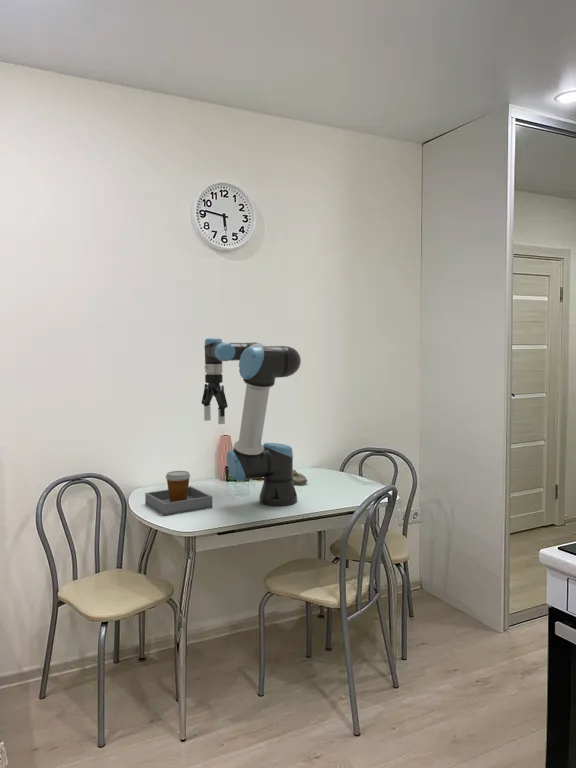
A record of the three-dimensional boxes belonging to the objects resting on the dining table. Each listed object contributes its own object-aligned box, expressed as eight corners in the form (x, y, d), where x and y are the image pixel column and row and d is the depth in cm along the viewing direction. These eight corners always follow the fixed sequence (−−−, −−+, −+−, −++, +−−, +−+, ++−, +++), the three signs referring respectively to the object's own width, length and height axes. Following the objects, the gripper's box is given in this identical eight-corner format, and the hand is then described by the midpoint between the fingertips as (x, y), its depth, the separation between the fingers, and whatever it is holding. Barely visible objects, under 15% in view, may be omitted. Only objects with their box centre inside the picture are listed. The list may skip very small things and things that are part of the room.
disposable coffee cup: (170, 507, 233) (169, 476, 232) (162, 502, 242) (162, 472, 241) (194, 504, 238) (193, 474, 237) (186, 499, 246) (185, 469, 245)
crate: (212, 507, 237) (212, 496, 237) (164, 515, 226) (164, 503, 226) (191, 497, 253) (190, 486, 253) (145, 504, 242) (145, 492, 242)
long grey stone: (257, 475, 301) (242, 480, 293) (256, 464, 300) (242, 469, 293) (312, 482, 277) (298, 487, 270) (312, 470, 277) (297, 475, 270)
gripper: (193, 372, 275) (194, 419, 277) (219, 375, 255) (219, 426, 256) (208, 372, 280) (209, 418, 281) (235, 374, 259) (235, 424, 260)
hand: (214, 422), depth 269 cm, fingers open, 13 cm apart
